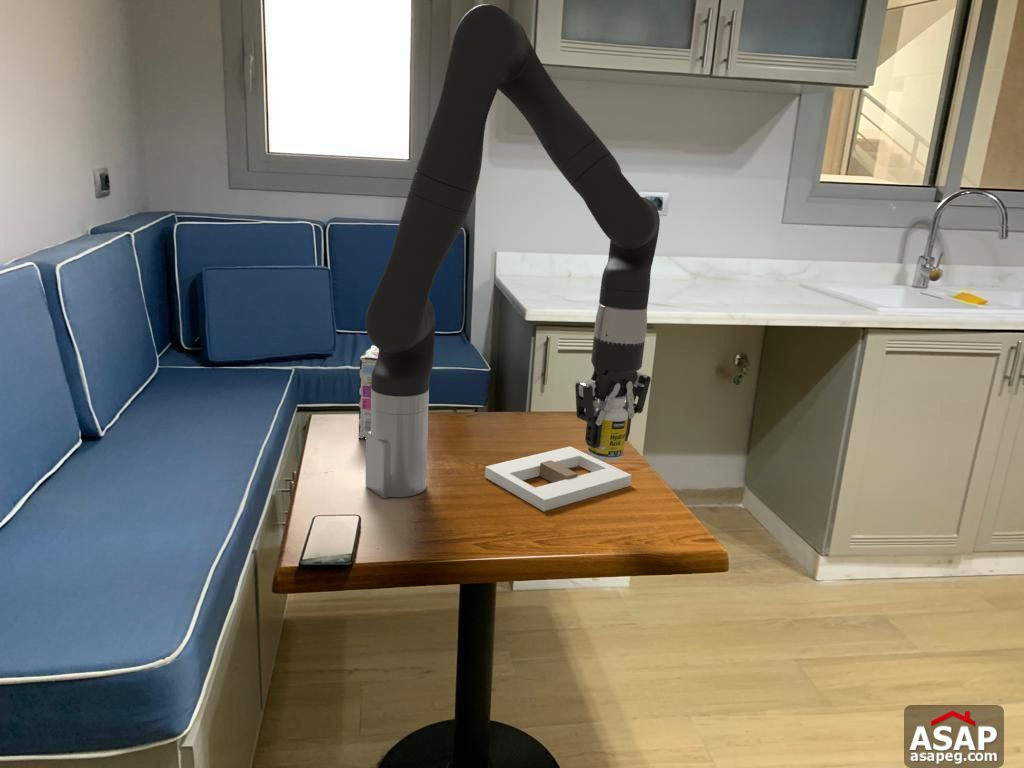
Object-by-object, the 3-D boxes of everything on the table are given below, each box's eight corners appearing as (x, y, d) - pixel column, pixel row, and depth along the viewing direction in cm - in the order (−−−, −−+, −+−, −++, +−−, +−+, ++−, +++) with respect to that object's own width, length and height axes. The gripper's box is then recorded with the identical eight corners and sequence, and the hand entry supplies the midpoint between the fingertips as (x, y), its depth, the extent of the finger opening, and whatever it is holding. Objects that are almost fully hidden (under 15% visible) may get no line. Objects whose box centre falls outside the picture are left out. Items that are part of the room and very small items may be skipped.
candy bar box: (383, 441, 150) (384, 359, 145) (357, 439, 150) (358, 357, 146) (393, 422, 161) (395, 345, 156) (369, 421, 161) (370, 344, 156)
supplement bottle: (609, 464, 116) (616, 402, 113) (580, 454, 119) (587, 393, 116) (629, 456, 120) (637, 396, 117) (601, 446, 123) (608, 387, 120)
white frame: (543, 511, 124) (544, 497, 123) (484, 477, 136) (485, 463, 135) (630, 485, 136) (631, 472, 135) (569, 456, 148) (570, 443, 147)
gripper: (602, 345, 107) (589, 459, 112) (671, 337, 116) (656, 443, 120) (566, 333, 113) (555, 443, 117) (634, 326, 121) (622, 428, 126)
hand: (607, 442), depth 119 cm, fingers closed on supplement bottle, 5 cm apart
